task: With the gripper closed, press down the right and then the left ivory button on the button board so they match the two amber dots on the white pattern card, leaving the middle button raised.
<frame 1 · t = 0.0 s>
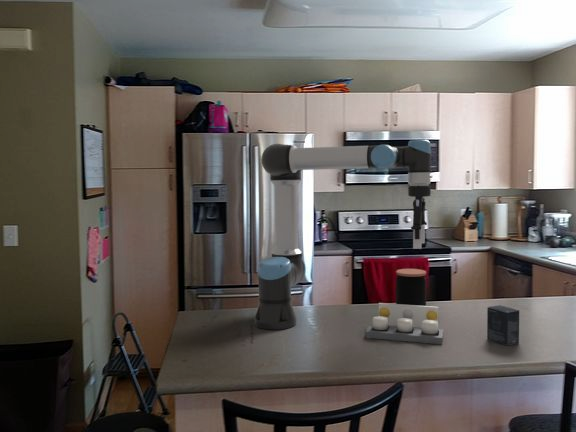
hand: (419, 245, 181), 28 cm above the counter, fingers open, 13 cm apart
pattern card: (408, 327, 179), on the counter
button mid: (404, 324, 170), point 4 cm above the counter, slide at 0.0 cm
button left: (380, 323, 172), point 4 cm above the counter, slide at 0.0 cm
button right: (430, 326, 167), point 4 cm above the counter, slide at 0.0 cm
coffee jar: (410, 320, 189), on the counter
board: (404, 336, 170), on the counter
box: (502, 341, 164), on the counter
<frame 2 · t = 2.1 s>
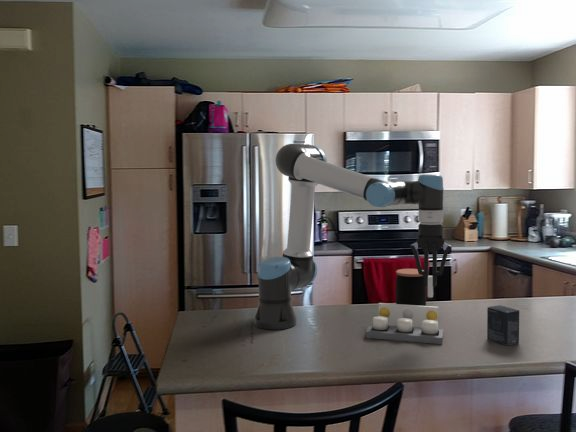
hand: (430, 296, 166), 14 cm above the counter, fingers closed
nothing on the counter moved.
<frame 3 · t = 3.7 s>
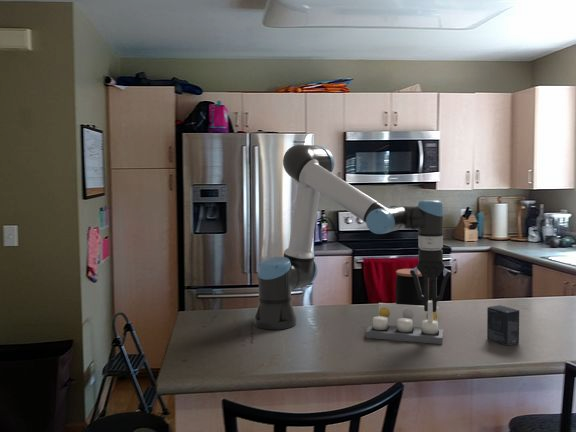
hand: (430, 321, 167), 6 cm above the counter, fingers closed
button right: (430, 326, 167), point 4 cm above the counter, slide at 0.0 cm, touching gripper
everything else where it was.
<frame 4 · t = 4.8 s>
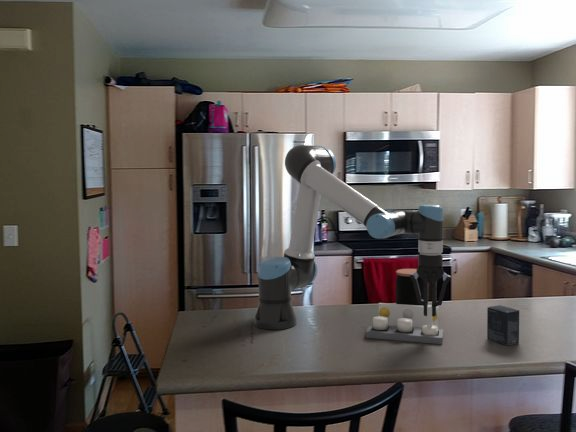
hand: (429, 325, 167), 4 cm above the counter, fingers closed
button right: (430, 331, 167), point 2 cm above the counter, slide at 1.7 cm
everything else where it was.
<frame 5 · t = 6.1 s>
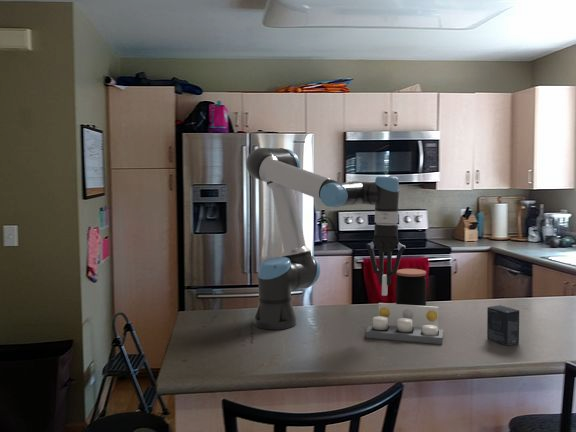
hand: (384, 294, 171), 14 cm above the counter, fingers closed
nothing on the counter moved.
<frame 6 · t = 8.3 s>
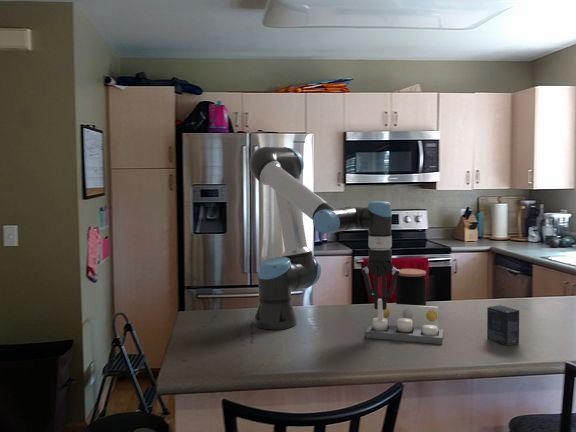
hand: (380, 318, 172), 5 cm above the counter, fingers closed
button left: (380, 324, 172), point 3 cm above the counter, slide at 0.4 cm, touching gripper
everything else where it was.
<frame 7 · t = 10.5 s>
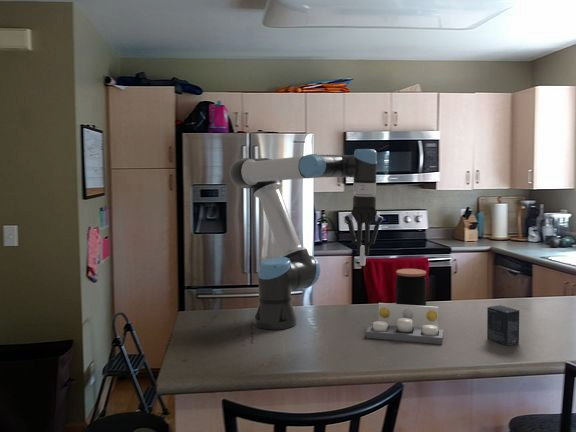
hand: (362, 264, 176), 23 cm above the counter, fingers closed
button left: (380, 327, 172), point 2 cm above the counter, slide at 1.7 cm
everything else where it was.
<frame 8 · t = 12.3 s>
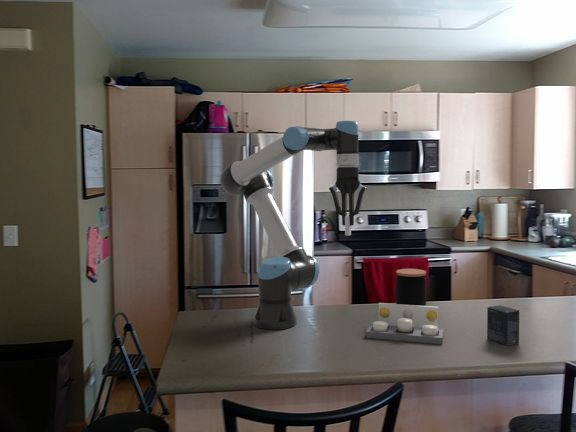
hand: (348, 234, 179), 32 cm above the counter, fingers closed
nothing on the counter moved.
at the end: button right slide at 1.7 cm; button left slide at 1.7 cm; button mid slide at 0.0 cm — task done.
